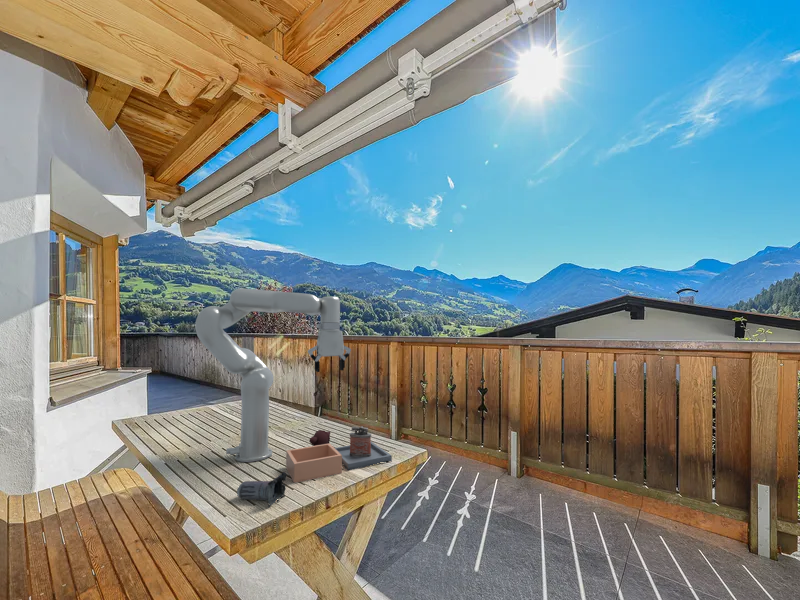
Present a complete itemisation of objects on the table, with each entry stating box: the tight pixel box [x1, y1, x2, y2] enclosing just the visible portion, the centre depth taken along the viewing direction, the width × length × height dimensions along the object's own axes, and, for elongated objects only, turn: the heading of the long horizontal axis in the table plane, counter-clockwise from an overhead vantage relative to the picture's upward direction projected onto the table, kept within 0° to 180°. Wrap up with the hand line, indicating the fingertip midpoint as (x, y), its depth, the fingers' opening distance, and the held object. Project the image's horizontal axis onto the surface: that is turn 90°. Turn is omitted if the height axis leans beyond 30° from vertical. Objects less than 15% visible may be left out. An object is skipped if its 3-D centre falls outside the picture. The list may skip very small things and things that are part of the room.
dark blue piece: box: [236, 471, 288, 509], centre depth 93 cm, size 9×8×12 cm
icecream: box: [308, 429, 331, 446], centre depth 136 cm, size 7×7×15 cm
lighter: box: [349, 425, 372, 457], centre depth 124 cm, size 8×3×10 cm, turn 79°
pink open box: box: [285, 442, 343, 484], centre depth 113 cm, size 15×14×6 cm
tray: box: [334, 441, 393, 471], centre depth 124 cm, size 16×18×2 cm
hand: (329, 370), depth 134 cm, fingers open, 9 cm apart
